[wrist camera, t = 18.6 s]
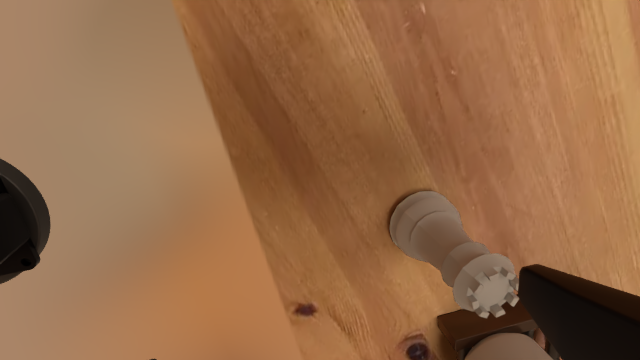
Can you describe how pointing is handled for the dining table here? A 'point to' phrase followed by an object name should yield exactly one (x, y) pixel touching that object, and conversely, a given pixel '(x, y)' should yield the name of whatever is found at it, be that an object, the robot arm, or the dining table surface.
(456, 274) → the rook chess piece
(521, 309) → the dish rack
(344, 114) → the dining table surface
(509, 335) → the beverage can
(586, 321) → the robot arm
